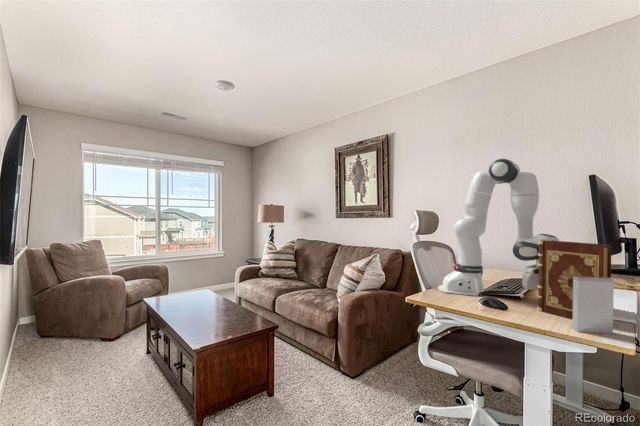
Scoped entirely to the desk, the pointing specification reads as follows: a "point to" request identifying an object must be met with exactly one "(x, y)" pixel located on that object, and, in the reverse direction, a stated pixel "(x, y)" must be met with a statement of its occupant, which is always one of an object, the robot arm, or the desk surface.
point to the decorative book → (567, 272)
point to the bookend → (593, 304)
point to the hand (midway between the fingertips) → (547, 299)
